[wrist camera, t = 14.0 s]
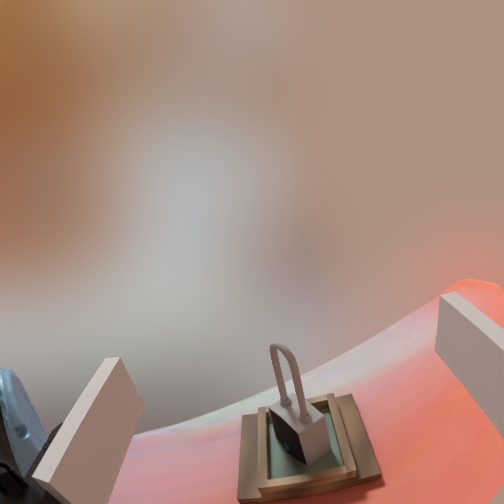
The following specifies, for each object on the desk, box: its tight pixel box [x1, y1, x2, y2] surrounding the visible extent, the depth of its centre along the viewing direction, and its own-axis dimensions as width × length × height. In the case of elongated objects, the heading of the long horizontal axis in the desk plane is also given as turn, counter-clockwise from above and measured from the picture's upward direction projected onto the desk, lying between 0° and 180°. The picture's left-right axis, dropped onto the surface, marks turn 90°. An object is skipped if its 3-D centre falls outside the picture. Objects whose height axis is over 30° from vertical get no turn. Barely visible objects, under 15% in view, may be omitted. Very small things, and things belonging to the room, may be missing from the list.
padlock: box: [268, 341, 332, 467], centre depth 28 cm, size 7×4×15 cm, turn 30°
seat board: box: [237, 393, 380, 504], centre depth 30 cm, size 15×14×3 cm
